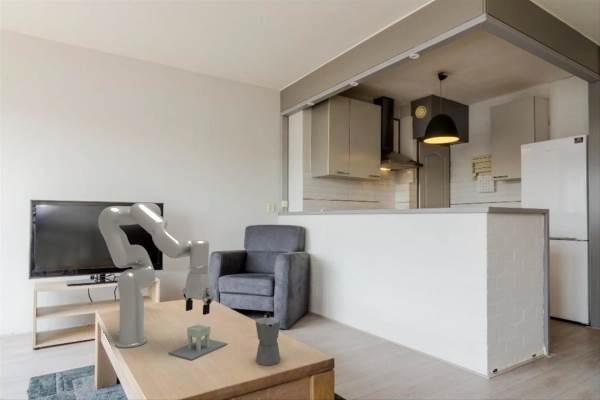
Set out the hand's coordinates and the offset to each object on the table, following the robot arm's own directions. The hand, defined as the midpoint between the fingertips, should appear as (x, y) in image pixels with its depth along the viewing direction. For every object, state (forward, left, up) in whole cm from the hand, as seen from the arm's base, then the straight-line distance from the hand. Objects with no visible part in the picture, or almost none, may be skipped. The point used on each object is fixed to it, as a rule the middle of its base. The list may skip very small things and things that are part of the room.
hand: (197, 312), depth 154 cm
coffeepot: (+32, +5, -15) cm, 35 cm away
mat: (+1, 0, -15) cm, 15 cm away
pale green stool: (+1, 0, -14) cm, 14 cm away
